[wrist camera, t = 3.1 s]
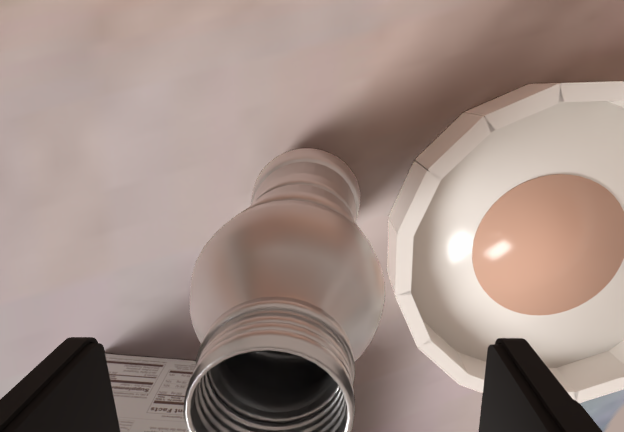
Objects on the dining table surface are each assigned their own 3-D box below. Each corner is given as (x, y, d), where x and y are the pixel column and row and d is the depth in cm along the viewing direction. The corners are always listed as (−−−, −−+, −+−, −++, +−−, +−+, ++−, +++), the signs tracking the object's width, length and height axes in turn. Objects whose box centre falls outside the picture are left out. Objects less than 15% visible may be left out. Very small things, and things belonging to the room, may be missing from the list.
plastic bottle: (370, 216, 28) (465, 485, 9) (279, 248, 29) (193, 554, 10) (338, 127, 26) (372, 228, 7) (242, 164, 27) (53, 339, 8)
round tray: (391, 88, 26) (401, 87, 22) (740, 77, 25) (804, 75, 22) (384, 371, 32) (391, 404, 29) (662, 369, 31) (703, 403, 28)
